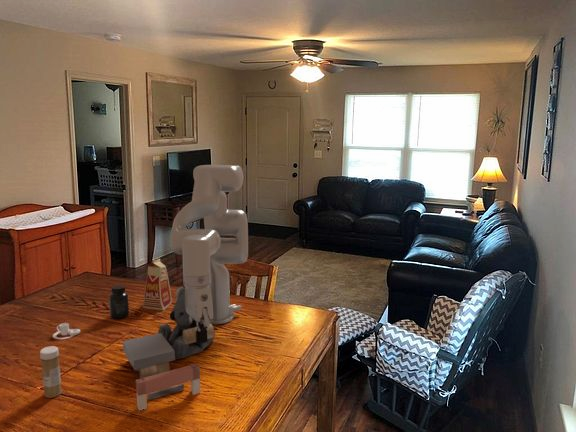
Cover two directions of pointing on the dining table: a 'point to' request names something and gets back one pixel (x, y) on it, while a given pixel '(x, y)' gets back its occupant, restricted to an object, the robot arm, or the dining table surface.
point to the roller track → (157, 370)
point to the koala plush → (181, 329)
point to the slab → (148, 351)
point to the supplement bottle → (119, 303)
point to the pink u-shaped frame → (167, 382)
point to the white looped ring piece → (65, 331)
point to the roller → (190, 334)
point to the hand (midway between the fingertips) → (198, 339)
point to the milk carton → (157, 287)
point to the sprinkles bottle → (51, 371)
